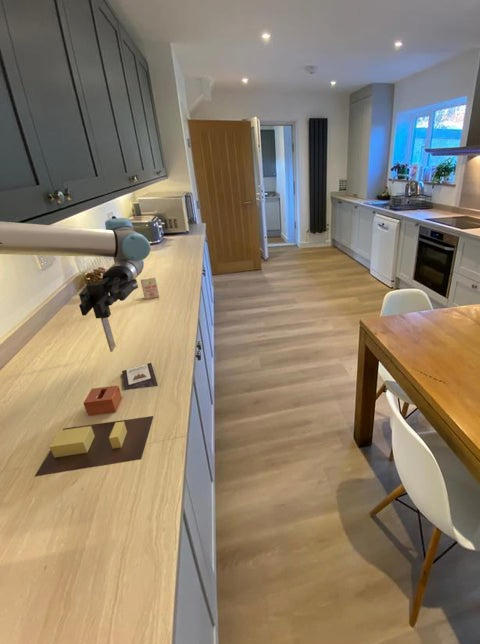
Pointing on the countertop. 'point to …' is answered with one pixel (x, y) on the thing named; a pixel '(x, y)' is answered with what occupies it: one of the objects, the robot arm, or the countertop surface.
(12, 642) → the countertop surface
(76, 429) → the butter
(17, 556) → the countertop surface
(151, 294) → the tea bag
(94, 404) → the knife stand
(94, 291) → the knife
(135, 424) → the board
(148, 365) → the chocolate bar
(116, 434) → the butter slice
